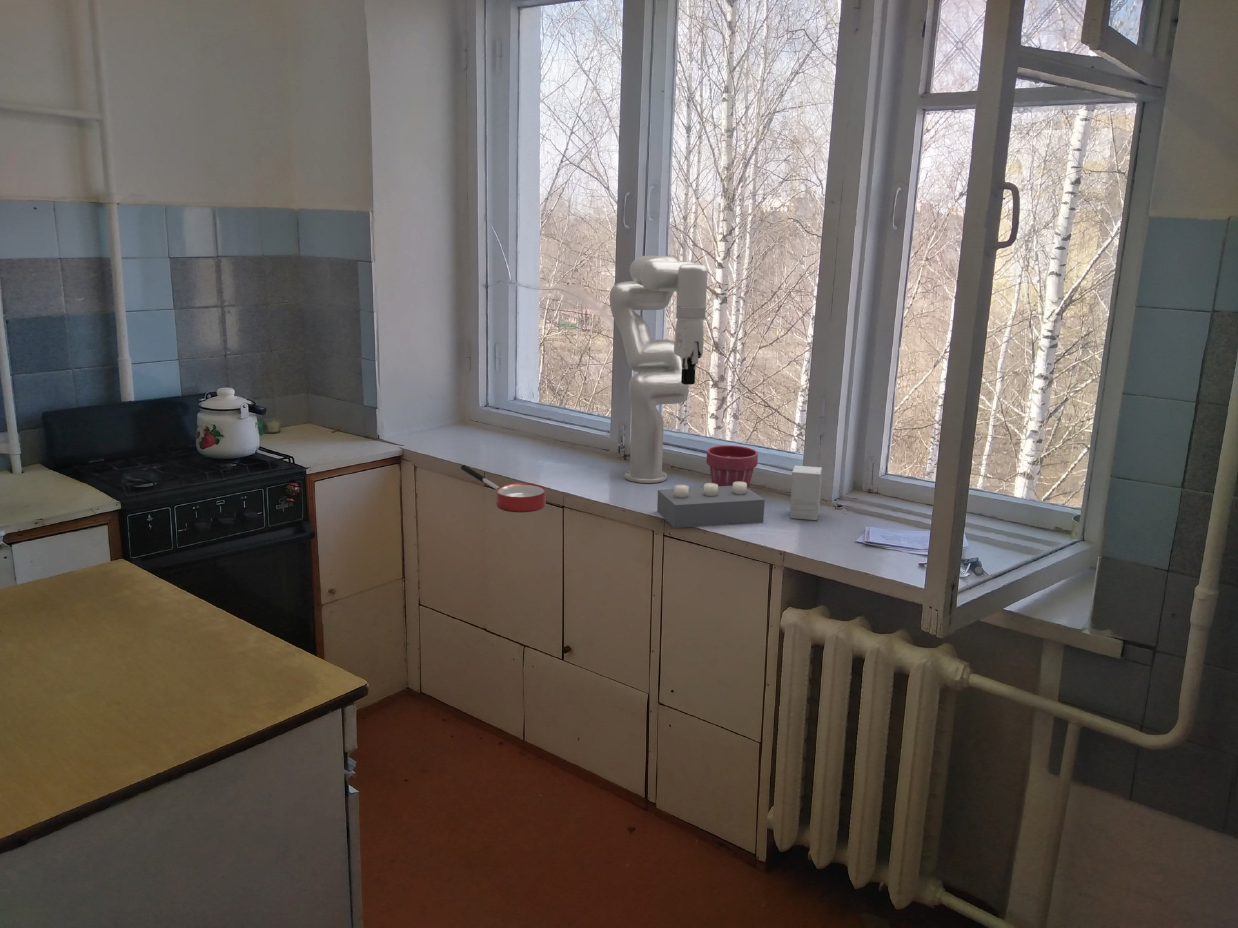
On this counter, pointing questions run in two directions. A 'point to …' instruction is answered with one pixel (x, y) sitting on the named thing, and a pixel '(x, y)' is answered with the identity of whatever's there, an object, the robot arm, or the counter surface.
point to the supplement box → (805, 492)
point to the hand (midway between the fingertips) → (687, 383)
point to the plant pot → (731, 464)
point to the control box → (710, 507)
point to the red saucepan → (514, 494)
